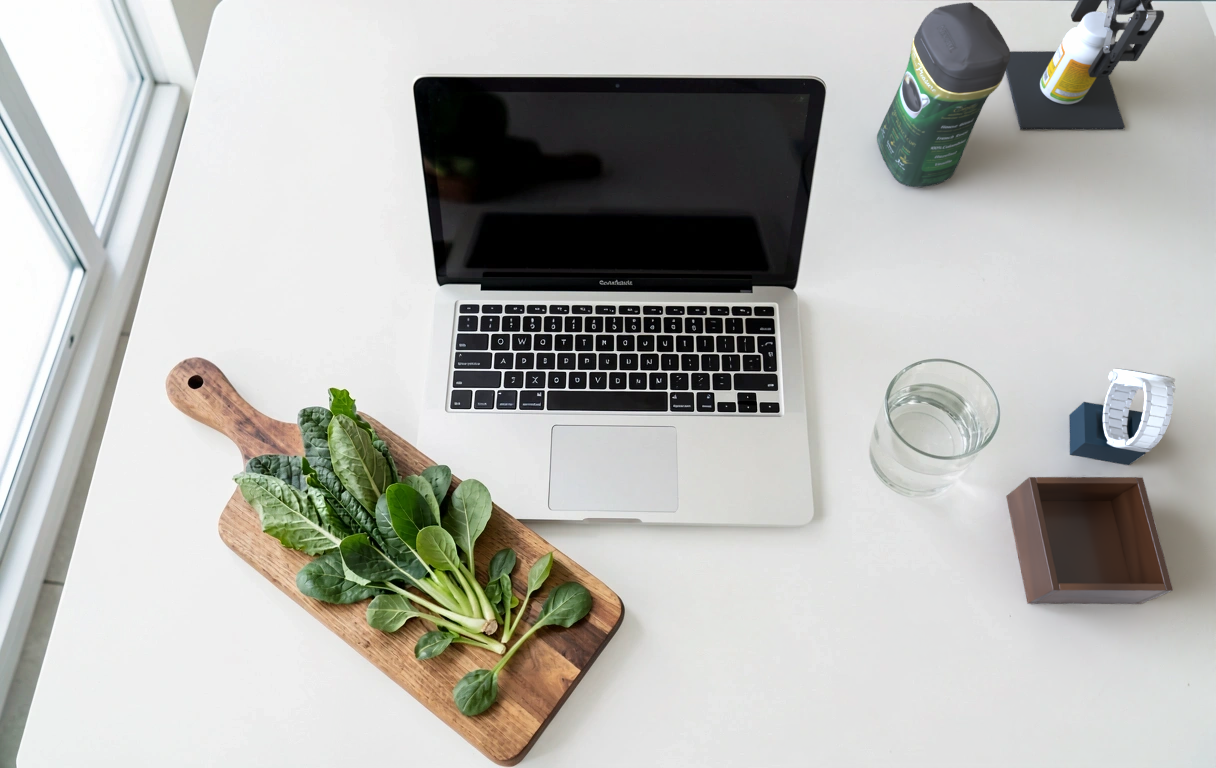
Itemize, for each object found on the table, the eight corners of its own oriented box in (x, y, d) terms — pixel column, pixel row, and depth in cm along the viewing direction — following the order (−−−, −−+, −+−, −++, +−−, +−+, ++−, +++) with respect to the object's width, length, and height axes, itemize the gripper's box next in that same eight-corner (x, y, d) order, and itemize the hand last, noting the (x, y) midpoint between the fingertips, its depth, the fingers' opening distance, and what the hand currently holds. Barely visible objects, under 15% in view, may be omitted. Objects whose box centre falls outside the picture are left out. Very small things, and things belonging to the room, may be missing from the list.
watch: (1126, 407, 90) (1189, 356, 80) (1129, 482, 86) (1195, 438, 76) (1068, 397, 90) (1123, 344, 80) (1069, 471, 87) (1127, 426, 77)
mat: (1099, 53, 111) (1100, 51, 110) (1123, 129, 105) (1125, 127, 105) (1001, 53, 111) (1002, 51, 110) (1020, 129, 105) (1021, 127, 105)
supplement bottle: (1094, 96, 107) (1137, 31, 98) (1058, 112, 106) (1098, 48, 97) (1065, 66, 109) (1104, 0, 100) (1029, 81, 108) (1065, 16, 99)
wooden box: (1113, 496, 86) (1142, 477, 81) (1140, 604, 81) (1173, 590, 77) (1006, 496, 86) (1029, 476, 81) (1027, 603, 81) (1053, 590, 77)
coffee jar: (962, 182, 102) (1031, 57, 85) (897, 196, 101) (952, 73, 85) (929, 119, 106) (988, -13, 90) (866, 131, 105) (913, 1, 89)
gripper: (1227, -32, 84) (1137, 94, 99) (1185, -131, 90) (1106, 1, 105) (1146, -32, 84) (1068, 94, 99) (1110, -131, 90) (1041, 2, 105)
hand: (1087, 46), depth 102 cm, fingers open, 8 cm apart
